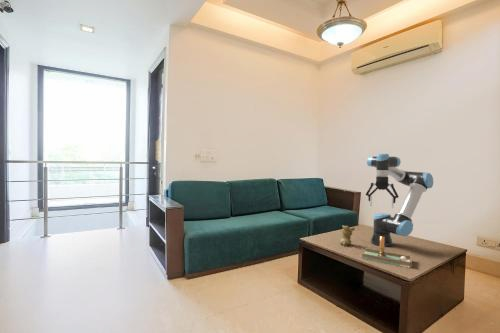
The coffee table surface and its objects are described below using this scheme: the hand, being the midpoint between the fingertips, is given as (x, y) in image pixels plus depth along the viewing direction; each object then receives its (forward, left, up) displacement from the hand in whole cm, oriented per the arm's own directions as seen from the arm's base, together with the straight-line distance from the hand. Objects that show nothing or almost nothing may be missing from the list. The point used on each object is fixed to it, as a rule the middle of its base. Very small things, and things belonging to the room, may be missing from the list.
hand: (381, 206), depth 184 cm
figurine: (-6, -24, -33) cm, 41 cm away
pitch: (+10, +5, -33) cm, 35 cm away
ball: (+10, +14, -30) cm, 35 cm away
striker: (+10, +2, -31) cm, 33 cm away
